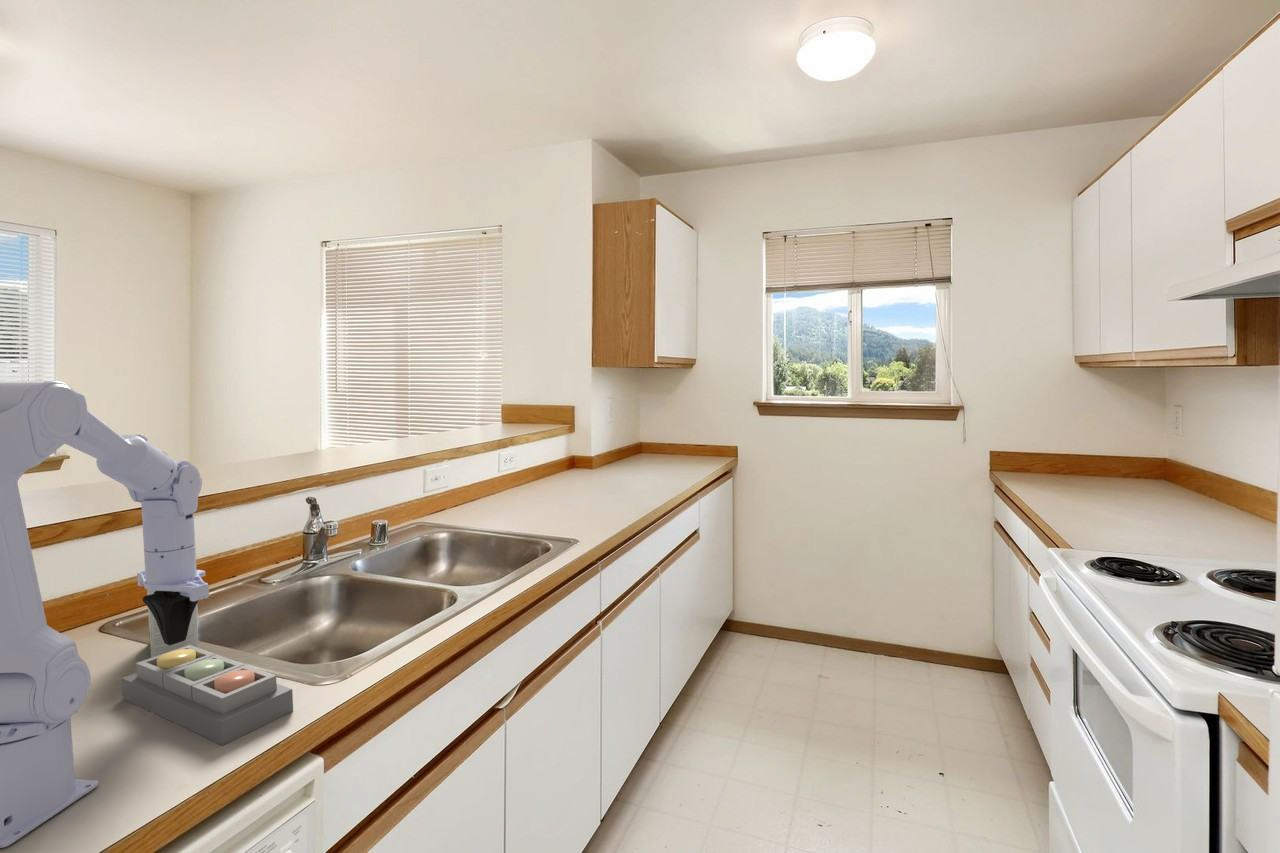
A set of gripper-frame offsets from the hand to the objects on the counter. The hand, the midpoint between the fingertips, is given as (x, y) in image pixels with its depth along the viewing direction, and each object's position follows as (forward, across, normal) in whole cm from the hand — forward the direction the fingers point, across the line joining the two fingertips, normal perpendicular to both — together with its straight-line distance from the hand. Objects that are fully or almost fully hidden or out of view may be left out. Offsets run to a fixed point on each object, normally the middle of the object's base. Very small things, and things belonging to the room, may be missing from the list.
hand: (175, 642), depth 88 cm
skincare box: (+8, +18, -8) cm, 21 cm away
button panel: (+7, -7, 0) cm, 10 cm away
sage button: (+4, -7, 0) cm, 8 cm away
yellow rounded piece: (+4, 0, 0) cm, 4 cm away
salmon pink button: (+4, -14, 0) cm, 15 cm away
